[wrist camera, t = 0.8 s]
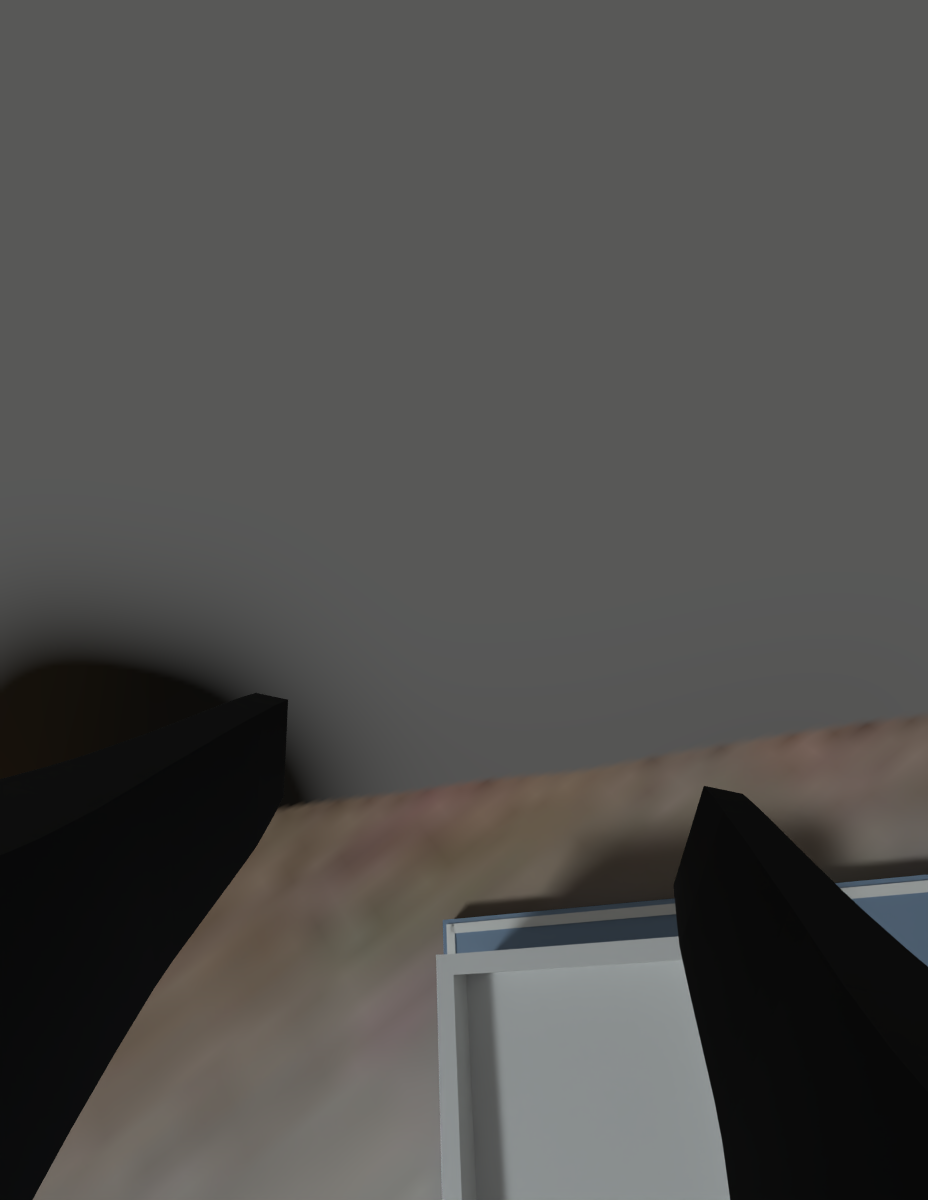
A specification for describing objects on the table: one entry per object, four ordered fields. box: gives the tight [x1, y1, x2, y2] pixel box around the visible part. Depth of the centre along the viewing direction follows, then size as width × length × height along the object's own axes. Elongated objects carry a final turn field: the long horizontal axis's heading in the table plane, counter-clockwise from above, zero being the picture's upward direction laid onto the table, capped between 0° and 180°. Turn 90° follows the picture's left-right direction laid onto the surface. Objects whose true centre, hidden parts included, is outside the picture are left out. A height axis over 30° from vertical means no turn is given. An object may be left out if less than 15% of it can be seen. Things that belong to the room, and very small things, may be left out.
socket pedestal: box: [436, 936, 730, 1200], centre depth 16 cm, size 8×8×4 cm
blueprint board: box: [443, 875, 928, 966], centre depth 16 cm, size 22×11×1 cm, turn 94°
